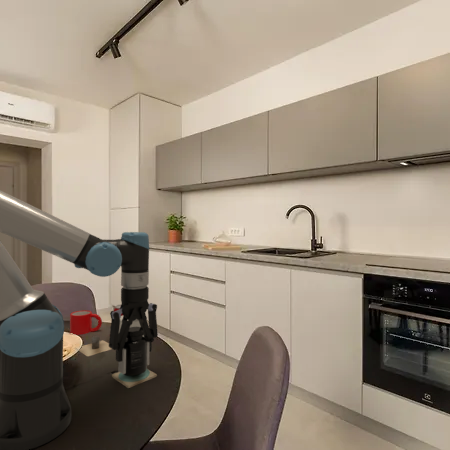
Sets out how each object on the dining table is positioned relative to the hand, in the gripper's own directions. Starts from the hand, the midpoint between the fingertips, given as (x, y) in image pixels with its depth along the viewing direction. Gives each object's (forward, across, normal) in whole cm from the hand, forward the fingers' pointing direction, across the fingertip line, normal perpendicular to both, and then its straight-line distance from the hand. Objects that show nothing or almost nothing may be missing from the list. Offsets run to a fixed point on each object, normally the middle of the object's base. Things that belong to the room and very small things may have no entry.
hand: (134, 367), depth 89 cm
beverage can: (+3, +13, +30) cm, 33 cm away
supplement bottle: (+1, 0, 0) cm, 1 cm away
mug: (+3, +6, +46) cm, 46 cm away
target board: (+3, 0, 0) cm, 3 cm away
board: (+3, +1, +26) cm, 27 cm away
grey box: (+3, +11, +22) cm, 24 cm away
